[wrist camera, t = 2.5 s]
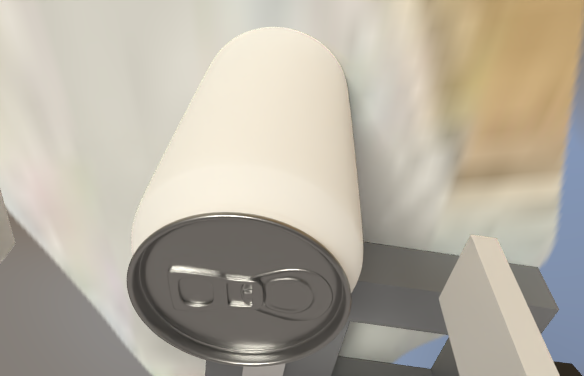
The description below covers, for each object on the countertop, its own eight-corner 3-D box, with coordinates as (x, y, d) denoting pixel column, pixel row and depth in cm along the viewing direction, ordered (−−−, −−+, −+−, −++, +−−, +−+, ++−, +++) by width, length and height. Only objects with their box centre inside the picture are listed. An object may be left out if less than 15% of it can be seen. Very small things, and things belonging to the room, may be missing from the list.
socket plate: (537, 267, 27) (563, 319, 24) (452, 398, 35) (464, 448, 32) (222, 221, 26) (210, 268, 23) (211, 366, 34) (201, 414, 31)
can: (341, 158, 23) (354, 383, 14) (211, 151, 23) (132, 368, 14) (356, 26, 19) (388, 208, 10) (200, 19, 20) (80, 190, 10)
